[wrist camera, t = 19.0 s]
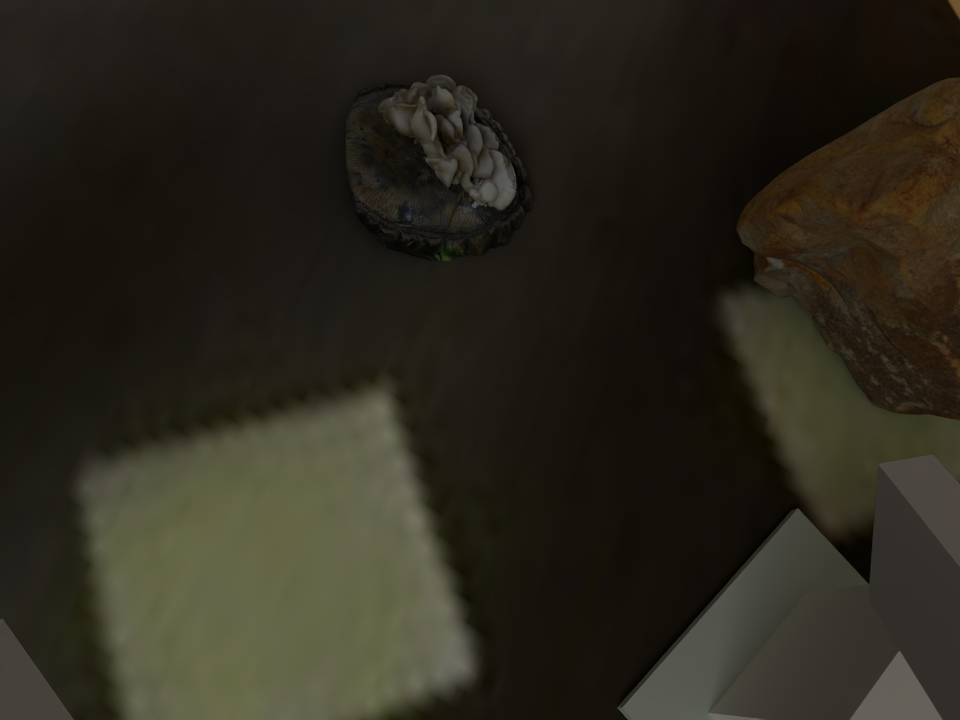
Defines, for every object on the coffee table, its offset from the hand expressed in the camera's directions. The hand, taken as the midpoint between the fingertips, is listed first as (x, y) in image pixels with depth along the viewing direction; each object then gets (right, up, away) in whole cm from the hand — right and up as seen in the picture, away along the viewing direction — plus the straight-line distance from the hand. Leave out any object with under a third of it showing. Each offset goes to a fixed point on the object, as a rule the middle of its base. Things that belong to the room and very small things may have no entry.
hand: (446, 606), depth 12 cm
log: (-2, +14, +33) cm, 36 cm away
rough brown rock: (+24, +7, +36) cm, 44 cm away
